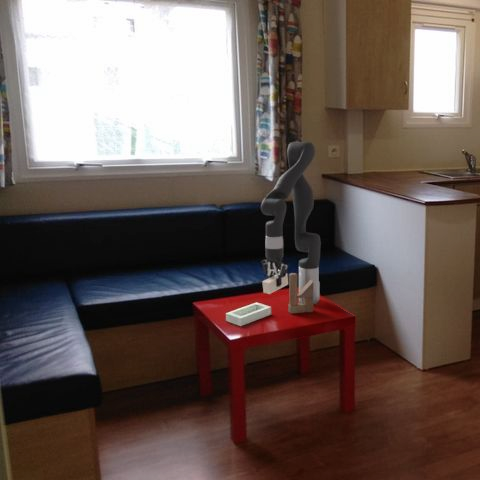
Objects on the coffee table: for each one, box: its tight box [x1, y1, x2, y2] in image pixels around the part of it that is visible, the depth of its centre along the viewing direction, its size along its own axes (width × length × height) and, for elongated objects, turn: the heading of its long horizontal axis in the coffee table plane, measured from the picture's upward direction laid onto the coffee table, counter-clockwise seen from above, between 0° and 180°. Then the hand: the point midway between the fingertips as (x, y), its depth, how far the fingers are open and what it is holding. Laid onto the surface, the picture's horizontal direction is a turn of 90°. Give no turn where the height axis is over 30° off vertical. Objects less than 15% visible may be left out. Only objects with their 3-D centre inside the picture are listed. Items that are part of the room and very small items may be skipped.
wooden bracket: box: [287, 272, 314, 314], centre depth 237 cm, size 4×11×18 cm, turn 102°
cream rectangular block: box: [262, 272, 289, 295], centre depth 226 cm, size 12×4×5 cm, turn 134°
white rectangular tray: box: [225, 302, 272, 327], centre depth 233 cm, size 19×9×4 cm, turn 134°
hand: (275, 285), depth 226 cm, fingers closed on cream rectangular block, 3 cm apart
